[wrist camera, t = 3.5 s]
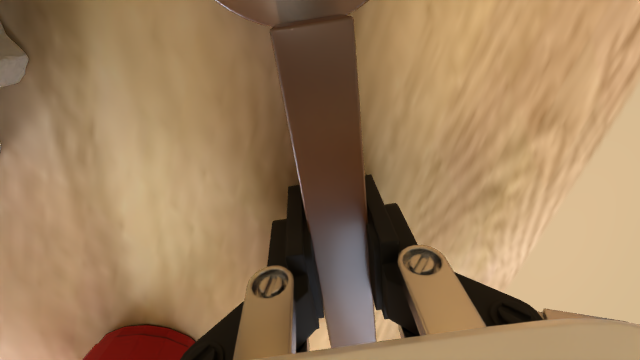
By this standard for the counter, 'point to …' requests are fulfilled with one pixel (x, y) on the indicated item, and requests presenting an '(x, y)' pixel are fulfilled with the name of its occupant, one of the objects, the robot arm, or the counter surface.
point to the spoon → (325, 148)
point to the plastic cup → (141, 344)
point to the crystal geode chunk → (10, 61)
